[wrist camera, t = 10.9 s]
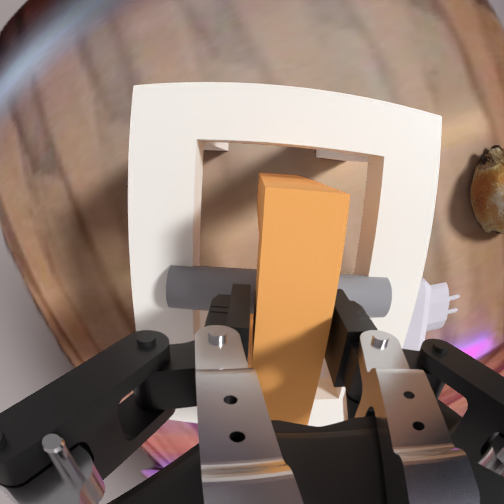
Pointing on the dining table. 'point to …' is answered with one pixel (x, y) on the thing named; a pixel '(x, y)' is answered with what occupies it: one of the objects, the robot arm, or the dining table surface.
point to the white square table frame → (279, 134)
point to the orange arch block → (295, 289)
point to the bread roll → (489, 191)
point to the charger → (428, 312)
